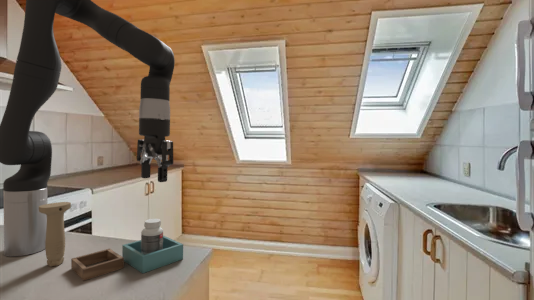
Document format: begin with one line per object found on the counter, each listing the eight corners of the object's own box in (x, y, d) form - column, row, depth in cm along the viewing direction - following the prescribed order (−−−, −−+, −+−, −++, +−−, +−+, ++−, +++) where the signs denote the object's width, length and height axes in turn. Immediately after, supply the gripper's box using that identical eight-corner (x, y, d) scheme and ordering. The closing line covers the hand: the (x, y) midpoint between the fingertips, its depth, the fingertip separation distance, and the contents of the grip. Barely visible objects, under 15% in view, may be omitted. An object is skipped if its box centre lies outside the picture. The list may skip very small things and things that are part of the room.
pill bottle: (164, 258, 73) (165, 221, 73) (142, 263, 70) (143, 224, 70) (160, 251, 78) (161, 216, 77) (139, 255, 75) (140, 219, 74)
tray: (122, 259, 73) (122, 244, 73) (161, 248, 82) (161, 234, 81) (142, 273, 66) (142, 256, 66) (183, 259, 75) (183, 244, 74)
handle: (35, 266, 68) (34, 206, 68) (64, 257, 74) (64, 201, 73) (45, 271, 66) (45, 208, 65) (74, 261, 72) (74, 203, 71)
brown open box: (71, 268, 68) (71, 258, 67) (109, 257, 74) (109, 248, 74) (83, 280, 62) (83, 269, 62) (123, 267, 69) (123, 257, 69)
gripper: (127, 117, 74) (127, 178, 75) (155, 115, 65) (154, 184, 66) (154, 119, 80) (153, 176, 81) (183, 118, 71) (181, 181, 71)
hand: (153, 179), depth 73 cm, fingers open, 8 cm apart
